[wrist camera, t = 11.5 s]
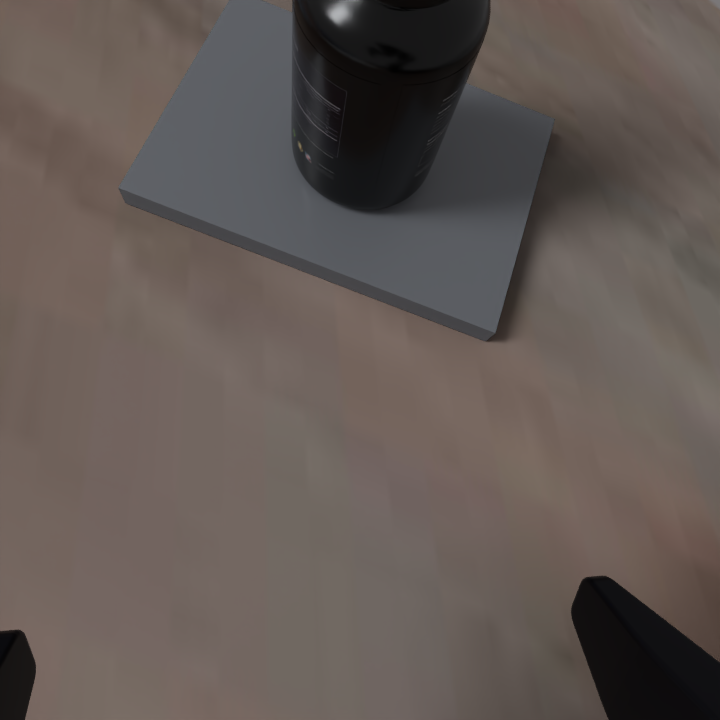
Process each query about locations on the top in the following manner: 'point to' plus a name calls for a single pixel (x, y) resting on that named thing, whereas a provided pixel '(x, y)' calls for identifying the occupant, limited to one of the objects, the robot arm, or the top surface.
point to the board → (323, 217)
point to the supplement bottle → (377, 91)
